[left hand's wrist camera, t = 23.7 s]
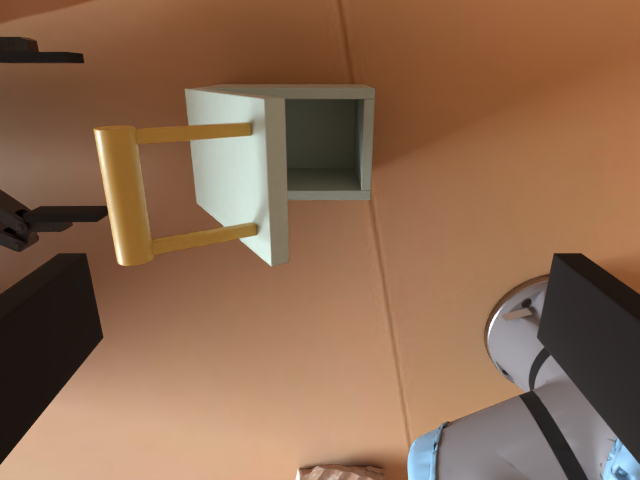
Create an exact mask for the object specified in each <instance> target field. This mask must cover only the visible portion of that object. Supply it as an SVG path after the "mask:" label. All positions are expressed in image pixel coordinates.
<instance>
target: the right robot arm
mask: <svg viewBox="0 0 640 480" xmlns="http://www.w3.org/2000/svg"><path fill="white" fill-rule="evenodd" d="M0 63H84V58H83V54H80V53H71V52H39V50H38V45H37V41H35V40H33V39H30V38H23V37H0ZM108 214H109V213H108V208H107V206H40V207H38V208H36V209H34V210H30V209H29V208H27V207H26V206H24V205H23V204H21V203H20V202H18V201H17V200H15V199H14V198H12V197H11V196H9V195H8V194H6V193H5V192H4V191H2V190H1V189H0V245H2V246H5V247H7V248H10V249H12V250H14V251H18V252H21V251H23V250H24V249H26V248H28V247H29V246H31V245H33V244H35V243H36V242H38V240H39V236H38V235H37V232H61V231H64V230H66V229H68V228H69V227H71V226H72V225H73V222H98V221H99V220H101V219H102V218H104V217H105V216H107V215H108Z"/></svg>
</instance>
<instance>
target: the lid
mask: <svg viewBox="0 0 640 480" xmlns="http://www.w3.org/2000/svg"><path fill="white" fill-rule="evenodd" d="M185 97H186V107H187V117H188V126H172V127H155V128H138V129H135V127H134V126H130V125H113V126H101V127H96V128H94V129H93V130H94V135H95V141H96V146H97V152H98V158H99V163H100V169H101V174H102V180H103V185H104V191H105V197H106V202H107V208H108V213H109V219H110V224H111V230H112V236H113V241H114V247H115V252H116V258H117V262H118V264H120V265H123V266H136V265H141V264H145V263H147V262H149V261H151V260H152V259H153V258H154V255H157V254H162V253H167V252H172V251H178V250H183V249H188V248H193V247H199V246H204V245H209V244H214V243H219V242H225V241H230V240H235V239H239V240H241V241H242V242H243V243H244V244H245V245H247V246H248V247H249V248H250V249H251V250H252V251H254V252H255V253H256V254H257V255H258V256H260V257H261V258H262V259H263V260H264V261H265V262H267V263H268V264H269V265H270V266H276V265H280V264H285V263H289V232H288V195H287V158H286V121H285V99H284V98H280V97H271V96H263V95H254V94H245V93H237V92H228V91H219V90H211V89H202V88H186V89H185ZM177 141H190V145H191V155H192V165H193V174H194V184H195V194H196V203H197V204H198V205H199V206H201V207H202V208H203V209H204V210H205V211H206V212H208V213H209V214H210V215H211V216H212V217H214V218H215V219H216V220H217V221H218V222H219V223H221V224H222V225H223V226H224V227H221V228H215V229H210V230H204V231H198V232H192V233H187V234H181V235H175V236H170V237H164V238H158V239H153V240H152V239H151V232H150V225H149V219H148V212H147V205H146V198H145V191H144V184H143V178H142V171H141V164H140V157H139V150H138V144H151V143H164V142H177Z"/></svg>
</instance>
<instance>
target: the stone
mask: <svg viewBox="0 0 640 480" xmlns="http://www.w3.org/2000/svg"><path fill="white" fill-rule="evenodd" d="M384 474H385V471H384V469H379V468H375V467H372V466H366V467H356V466H351V467H345V466H342V465H330V464H329V465H318V466H317V467H315V468H312V469H307V470H306V469H304V468H298V471H297V476H296V480H384Z"/></svg>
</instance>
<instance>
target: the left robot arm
mask: <svg viewBox="0 0 640 480" xmlns="http://www.w3.org/2000/svg"><path fill="white" fill-rule="evenodd" d="M102 338H103V333H102V328H101V324H100V319H99V314H98V309H97V304H96V299H95V294H94V289H93V285H92V280H91V275H90V270H89V265H88V260H87V255H86V253H59V254H57V255H56V256H54V257H53V258H52V259H50V260H49V261H47V262H46V263H45V264H43V265H42V266H40V267H39V268H37V269H36V270H35V271H33V272H32V273H30V274H29V275H27V276H26V277H25V278H23V279H22V280H20V281H19V282H17V283H16V284H15V285H13V286H12V287H10V288H9V289H8V290H6V291H5V292H3V293H2V294H0V464H1V463H2V462H3V461H4V460H5V458H6V457H7V456H8V455H9V453H10V452H11V451H12V450H13V448H14V447H15V446H16V445H17V443H18V442H19V441H20V440H21V439H22V437H23V436H24V435H25V434H26V432H27V431H28V430H29V429H30V427H31V426H32V425H33V424H34V422H35V421H36V420H37V419H38V418H39V416H40V415H41V414H42V413H43V411H44V410H45V409H46V408H47V406H48V405H49V404H50V403H51V401H52V400H53V399H54V398H55V397H56V395H57V394H58V393H59V392H60V390H61V389H62V388H63V387H64V385H65V384H66V383H67V382H68V380H69V379H70V378H71V377H72V376H73V374H74V373H75V372H76V371H77V369H78V368H79V367H80V366H81V364H82V363H83V362H84V361H85V359H86V358H87V357H88V356H89V355H90V353H91V352H92V351H93V350H94V348H95V347H96V346H97V345H98V343H99V342H100V341H101V340H102ZM484 339H485V346H486V350H487V352H488V355H489V356H490V358H491V360H492V362H493V363H494V365H495V366H496V368H497V369H498V370H499V371H500V372H501V373H502V374H503V375H504V376H505V377H506V378H507V379H508V380H510V381H511V382H513V383H514V384H516V385H517V386H518V387H520V388H521V389H522V390H524V391H525V392H526V393H524V394H521V395H518V396H516V397H513V398H511V399H508V400H506V401H503V402H500V403H498V404H495V405H493V406H490V407H488V408H485V409H483V410H480V411H478V412H475V413H472V414H470V415H467V416H465V417H462V418H460V419H457V420H455V421H452V422H448V421H447V422H445V423H443V424H442V425H441V426H440V427H439V428H437V429H435V430H433V431H430V432H428V433H426V434H424V435H422V436H420V437H418V438H417V439H416V440H415V441H414V442H413V444H412V446H411V448H410V451H409V455H408V480H640V294H638V293H637V292H635V291H634V290H632V289H631V288H630V287H628V286H627V285H625V284H624V283H623V282H621V281H620V280H618V279H617V278H615V277H614V276H613V275H611V274H610V273H608V272H607V271H605V270H604V269H603V268H601V267H600V266H598V265H597V264H595V263H594V262H593V261H591V260H590V259H588V258H587V257H586V256H584V255H583V254H581V253H554V255H553V260H552V265H551V270H550V275H547V276H542V277H537V278H534V279H531V280H529V281H526V282H524V283H522V284H520V285H518V286H517V287H515V288H514V289H512V290H511V291H509V292H508V293H507V294H506V295H505V296H504V297H503V298H502V299H501V300H500V301H499V302H498V303H497V304H496V306H495V307H494V308H493V310H492V312H491V314H490V315H489V318H488V320H487V323H486V327H485V334H484Z"/></svg>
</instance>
